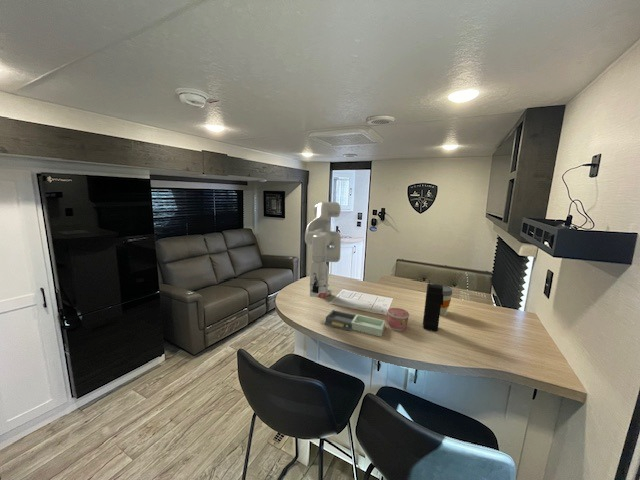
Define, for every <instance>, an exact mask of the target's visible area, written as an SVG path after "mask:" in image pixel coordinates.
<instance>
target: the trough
mask: <svg viewBox="0 0 640 480" xmlns="http://www.w3.org/2000/svg"><path fill="white" fill-rule="evenodd" d="M355 315H356V316H355V317H354V319H353V320H352V322H351V324H352V330H354V331H356V330H357V332H360V331H361V333H364V332H365V334H370V335H374V336H377V337H382V336H383V334H382V333H384V331H385V328H386V320H384V319H379V318H376V317H371V316H367V315H362V314H355ZM352 330H351V331H352Z"/></svg>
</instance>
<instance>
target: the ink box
mask: <svg viewBox="0 0 640 480" xmlns="http://www.w3.org/2000/svg"><path fill="white" fill-rule="evenodd" d="M315 280H317V279H315ZM311 281H312V280H311V279H310V278H309V297H312V298H326V297H327V296H326V274H324V275H323V276H321V280H319V282H318V286H319V290H318V293H313V292H312V290H313V286H312V282H311ZM315 282H316V284H317V281H315Z"/></svg>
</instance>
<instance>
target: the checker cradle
mask: <svg viewBox="0 0 640 480" xmlns="http://www.w3.org/2000/svg"><path fill="white" fill-rule="evenodd" d="M355 316H356V314H353V313H349V312H344V311H340V310H336V309H332V310H331V311H330V312H329V313H328V314H327V315H326V316H325V321H324V323H323V325H324V326H327V327H328V326H329V327H332V328H336V329H341V330H344V331H349V332H351V331H352V324H351V322H352V320H353V319H354V317H355Z"/></svg>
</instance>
